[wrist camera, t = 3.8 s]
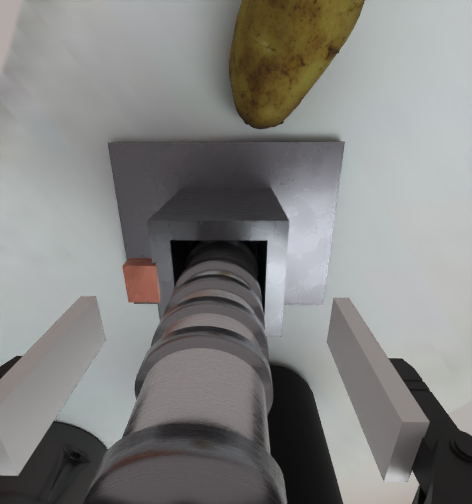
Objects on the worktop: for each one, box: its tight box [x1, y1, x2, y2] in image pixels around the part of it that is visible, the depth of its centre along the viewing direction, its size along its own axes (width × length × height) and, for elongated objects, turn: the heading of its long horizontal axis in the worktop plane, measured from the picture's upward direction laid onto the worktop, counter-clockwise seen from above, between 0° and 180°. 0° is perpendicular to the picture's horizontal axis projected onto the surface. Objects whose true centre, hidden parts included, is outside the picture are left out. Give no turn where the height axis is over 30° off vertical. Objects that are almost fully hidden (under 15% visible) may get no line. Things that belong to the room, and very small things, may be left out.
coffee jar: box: [267, 365, 343, 504], centre depth 28 cm, size 11×11×18 cm
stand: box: [108, 142, 345, 337], centre depth 23 cm, size 20×16×11 cm
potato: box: [229, 0, 365, 129], centre depth 19 cm, size 8×13×8 cm, turn 138°
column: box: [83, 240, 287, 504], centre depth 17 cm, size 5×5×22 cm
